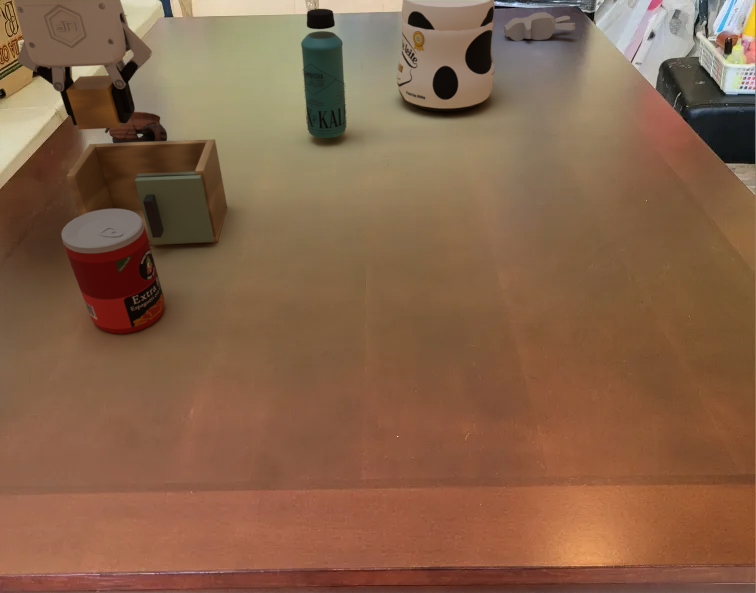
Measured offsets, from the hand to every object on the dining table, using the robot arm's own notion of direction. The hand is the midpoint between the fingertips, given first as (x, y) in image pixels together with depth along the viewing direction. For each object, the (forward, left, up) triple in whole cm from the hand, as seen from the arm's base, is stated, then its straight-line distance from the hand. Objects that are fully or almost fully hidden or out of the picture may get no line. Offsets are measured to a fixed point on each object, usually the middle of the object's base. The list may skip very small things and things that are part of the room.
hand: (103, 118), depth 77 cm
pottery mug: (-4, +23, -15) cm, 28 cm away
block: (0, 0, 0) cm, 0 cm away
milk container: (+46, +42, -15) cm, 64 cm away
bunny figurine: (+72, +79, -15) cm, 108 cm away
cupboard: (+3, +1, -15) cm, 16 cm away
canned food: (+4, -18, -15) cm, 24 cm away
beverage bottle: (+25, +27, -15) cm, 40 cm away
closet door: (+7, -5, -14) cm, 17 cm away
